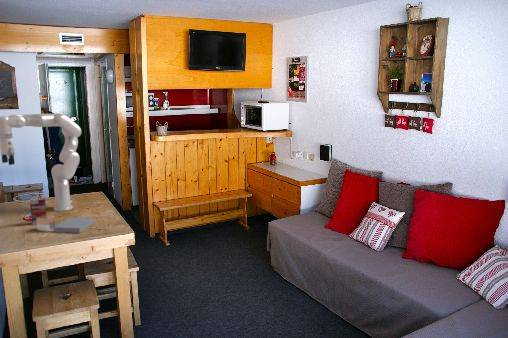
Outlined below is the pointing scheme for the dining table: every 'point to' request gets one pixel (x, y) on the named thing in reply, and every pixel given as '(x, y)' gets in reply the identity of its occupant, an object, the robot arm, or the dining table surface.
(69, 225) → the stand
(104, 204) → the dining table surface
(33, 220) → the supplement box
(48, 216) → the block
